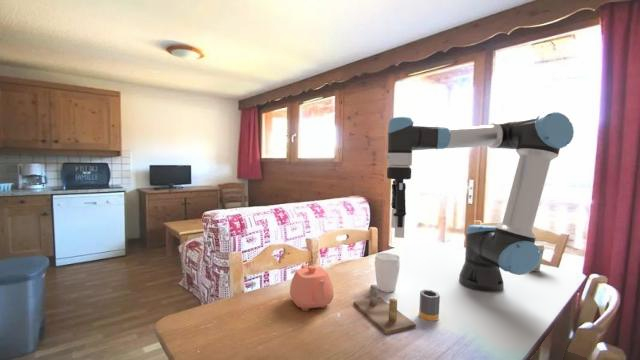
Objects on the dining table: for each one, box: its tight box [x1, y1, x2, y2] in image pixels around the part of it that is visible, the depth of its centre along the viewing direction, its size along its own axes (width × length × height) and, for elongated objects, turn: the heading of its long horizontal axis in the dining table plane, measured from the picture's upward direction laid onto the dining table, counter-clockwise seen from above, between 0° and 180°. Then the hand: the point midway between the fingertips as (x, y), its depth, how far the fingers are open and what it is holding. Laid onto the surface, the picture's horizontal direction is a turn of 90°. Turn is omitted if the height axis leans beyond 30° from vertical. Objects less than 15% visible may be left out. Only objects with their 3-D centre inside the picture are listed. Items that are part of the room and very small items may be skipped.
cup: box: [374, 252, 401, 293], centre depth 109 cm, size 9×9×12 cm
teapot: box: [289, 264, 334, 312], centre depth 95 cm, size 13×20×12 cm, turn 21°
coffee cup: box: [531, 241, 545, 272], centre depth 133 cm, size 8×8×12 cm
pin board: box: [352, 284, 417, 335], centre depth 90 cm, size 18×10×7 cm, turn 23°
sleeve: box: [418, 289, 441, 322], centre depth 90 cm, size 5×5×7 cm
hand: (397, 232), depth 96 cm, fingers open, 13 cm apart
